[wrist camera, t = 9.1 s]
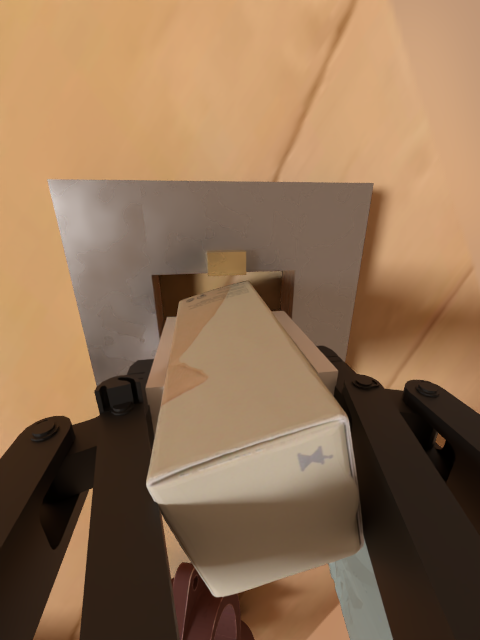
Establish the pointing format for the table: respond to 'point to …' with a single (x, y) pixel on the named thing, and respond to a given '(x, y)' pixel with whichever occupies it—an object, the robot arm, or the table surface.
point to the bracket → (205, 609)
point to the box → (250, 448)
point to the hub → (206, 253)
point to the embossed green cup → (360, 597)
